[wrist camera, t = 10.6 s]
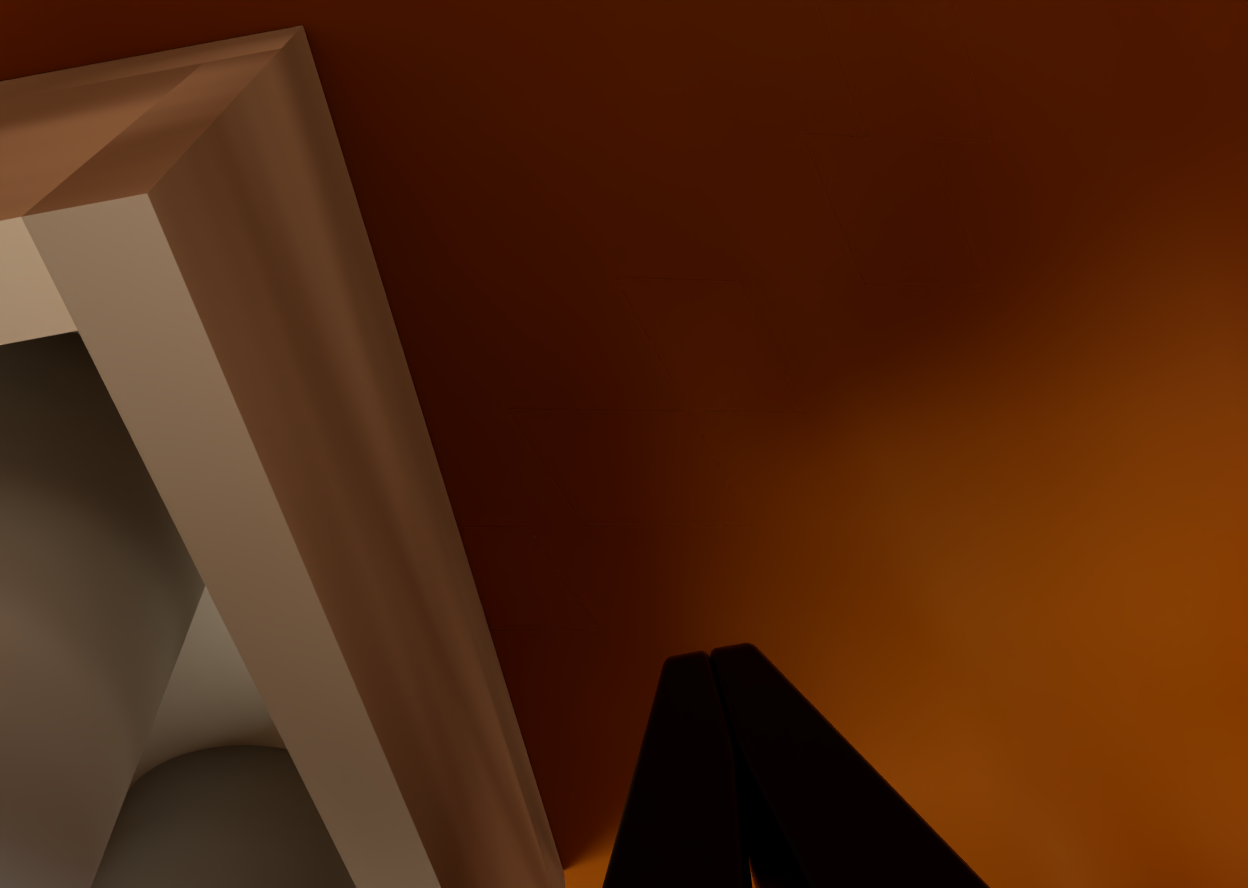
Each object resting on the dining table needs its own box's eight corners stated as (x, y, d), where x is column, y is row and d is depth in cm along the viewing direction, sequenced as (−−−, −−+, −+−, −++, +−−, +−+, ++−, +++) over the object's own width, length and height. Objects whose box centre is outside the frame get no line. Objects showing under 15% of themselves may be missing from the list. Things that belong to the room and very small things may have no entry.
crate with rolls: (303, 25, 9) (112, 229, 4) (564, 874, 15) (590, 1288, 11) (-468, 168, 8) (-1428, 519, 4) (127, 956, 15) (-20, 1408, 11)
